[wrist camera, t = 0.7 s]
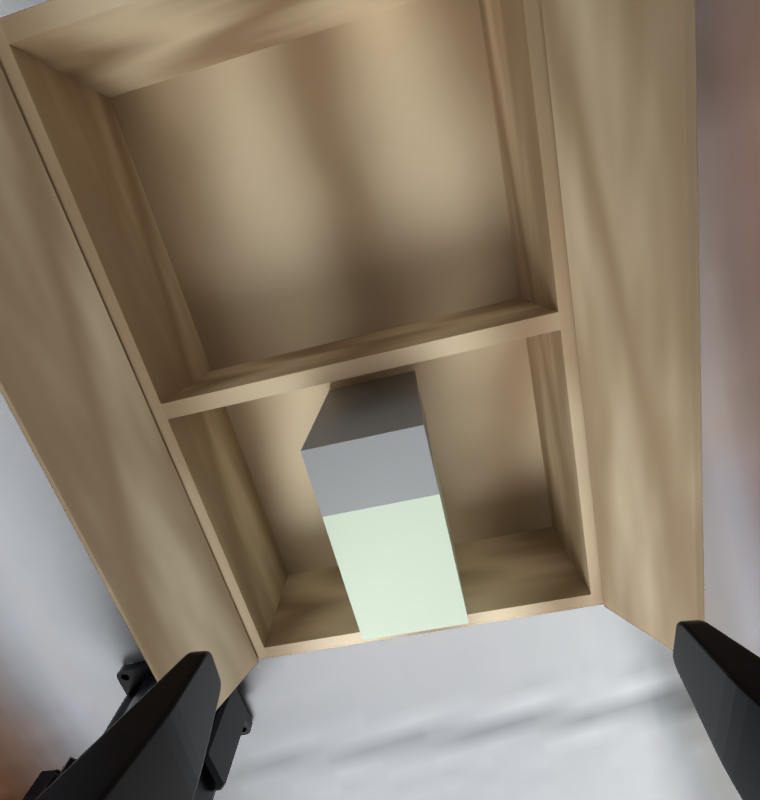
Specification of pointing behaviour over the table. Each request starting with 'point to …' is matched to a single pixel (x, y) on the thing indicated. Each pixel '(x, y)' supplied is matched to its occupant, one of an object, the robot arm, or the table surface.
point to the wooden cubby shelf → (356, 297)
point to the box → (385, 507)
